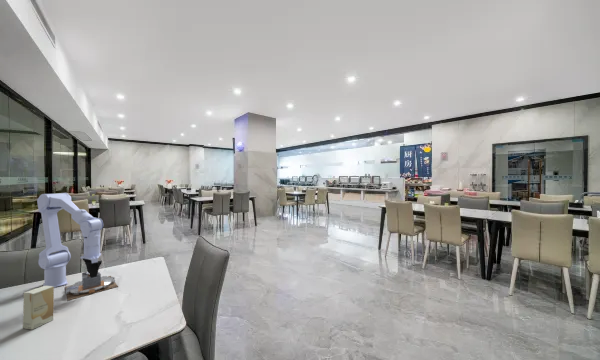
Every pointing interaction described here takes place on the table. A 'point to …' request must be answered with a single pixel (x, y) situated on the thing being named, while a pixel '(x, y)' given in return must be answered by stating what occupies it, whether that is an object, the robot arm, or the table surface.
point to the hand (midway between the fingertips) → (92, 274)
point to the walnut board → (72, 296)
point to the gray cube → (91, 281)
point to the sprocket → (78, 288)
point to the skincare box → (38, 307)
